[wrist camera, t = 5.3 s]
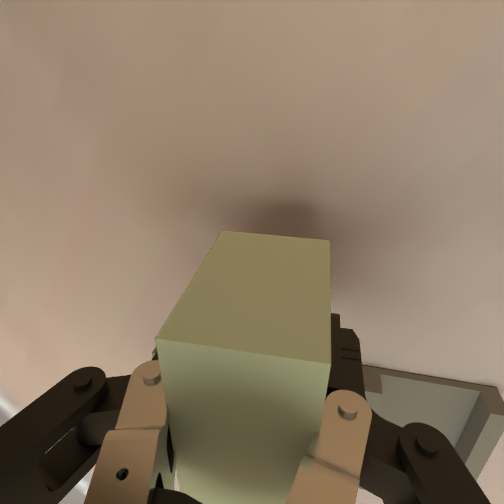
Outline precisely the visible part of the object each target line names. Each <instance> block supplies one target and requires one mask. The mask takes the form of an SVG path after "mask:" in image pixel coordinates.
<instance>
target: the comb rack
mask: <svg viewBox="0 0 504 504" xmlns="http://www.w3.org/2000/svg"><path fill="white" fill-rule="evenodd" d="M156 352H157V346H156V348H155V349H154V351H153V352H152V355H153V357H154V355H155V353H156ZM362 369H363V378H364V388H365V396H366V400H367V402H368V404H369V406H370V407H371V408H372V410H373V411H374V412H375V413H377V414H378V415H379V416H380V417H382V418H383V419H385V420H387V421H389V422H391V423H394V424H396V425H398V426H400V427H402V428H403V427H404V426H405V425H407V424H409V423H412V422H420V423H425V424H428V425H430V426H432V427H434V428H436V429H437V430H439V431H440V432H441V433H442V434H444V435H445V436H446V438H447V439H448V440H449V441H450V443H451V444H452V446H453V447H454V449H455V450H456V452H457V453H458V455H459V456H460V458H461V459H462V461H463V462H464V464H465V465H466V467H467V468H468V470H469V471H470V473H471V475H472V476H473V478H474V479H475V481H476V480H477V478H478V476H479V475H480V473H481V471H482V469H483V467H484V466H485V464H486V462H487V460H488V458H489V457H490V455H491V453H492V451H493V449H494V447H495V446H496V444H497V442H498V440H499V438H500V437H501V435H502V433H503V431H504V401H503V399H502V397H501V395H500V393H499V391H498V389H497V388H496V387H490V386H484V385H478V384H472V383H466V382H460V381H454V380H448V379H442V378H436V377H430V376H424V375H418V374H412V373H406V372H400V371H394V370H388V369H382V368H376V367H370V366H364V365H362ZM358 488H360V489H364V488H362V487H360V486H359V487H358ZM364 490H365V489H364Z"/></svg>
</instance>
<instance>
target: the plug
mask: <svg viewBox="0 0 504 504" xmlns="http://www.w3.org/2000/svg"><path fill="white" fill-rule="evenodd" d="M155 340H156V346H157V352H158V359H159V365H160V371H161V377H162V383H163V390H164V396H165V402H166V405H168V407H169V413H170V419H169V427H170V433H171V439H172V446H173V449H174V450H175V451H176V458H177V461H176V470H177V477H178V483H179V489H180V492H183V493H185V494H187V495H189V496H191V497H192V498H194V499H196V500H197V501H199V502H201V503H203V504H286V502H287V499H288V496H289V493H290V491H291V488H292V485H293V482H294V480H295V477H296V474H297V471H298V468H299V466H300V463H301V460H302V458H303V456H304V454H306V453H307V451H308V449H309V446H310V443H311V440H312V437H313V434H314V432H315V431H316V432H320V428H321V422H322V416H323V410H324V404H325V398H326V392H327V386H328V380H329V374H330V368H331V298H330V240H322V239H311V238H300V237H289V236H279V235H268V234H257V233H246V232H236V231H225V230H223V231H222V232H221V234H220V236H219V237H218V239H217V240H216V242H215V244H214V245H213V247H212V248H211V250H210V252H209V253H208V255H207V256H206V258H205V260H204V261H203V263H202V264H201V266H200V267H199V269H198V271H197V272H196V274H195V275H194V277H193V279H192V280H191V282H190V283H189V285H188V287H187V288H186V290H185V291H184V293H183V295H182V296H181V298H180V299H179V301H178V303H177V304H176V306H175V307H174V309H173V311H172V312H171V314H170V315H169V317H168V319H167V320H166V322H165V323H164V325H163V327H162V328H161V330H160V331H159V333H158V335H157V336H156V338H155Z"/></svg>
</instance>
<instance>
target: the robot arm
mask: <svg viewBox="0 0 504 504" xmlns="http://www.w3.org/2000/svg"><path fill="white" fill-rule="evenodd" d="M169 419H170V413H169V407H168V405H166V402H165V396H164V390H163V383H162V377H161V371H160V365H159V359H158V352H156V353H155V355H154V357H153V358H152V360H151V361H148V362H145V363H143V364H141V365H140V366H138V367H137V368H136V369H135V370H134V371H133V373H132V374H131V375H126V376H118V377H109V378H106V375H105V373H104V371H103V370H102V369H100V368H98V367H84V368H80V369H78V370H76V371H74V372H72V373H71V374H69V375H68V376H66V377H65V378H64V379H62V380H61V381H60V382H59V383H57V384H56V385H55V386H53V387H52V388H51V389H49V390H48V391H47V392H45V393H44V394H43V395H41V396H40V397H39V398H37V399H36V400H35V401H34V402H32V403H31V404H30V405H28V406H27V407H26V408H24V409H23V410H22V411H20V412H19V413H18V414H16V415H15V416H14V417H12V418H11V419H10V420H9V421H7V422H6V423H5V424H3V425H2V426H1V427H0V504H58V503H59V502H60V501H61V500H62V499H63V498H64V497H65V496H66V495H67V494H68V492H70V491H71V489H72V488H73V487H74V486H75V485H76V484H77V483H78V482H79V481H80V480H81V479H82V478H83V477H84V476H85V475H86V474H87V473H88V472H89V471H90V470H91V469H92V467H93V466H94V465H95V464H96V466H95V469H94V472H93V476H92V479H91V482H90V485H89V488H88V491H87V495H86V498H85V501H84V504H203V503H201V502H199V501H197V500H196V499H194V498H192V497H191V496H189V495H187V494H185V493H183V492H178V491H174V478H175V469H176V461H177V458H176V451H175V450H174V449H173V446H172V439H171V433H170V427H169ZM72 428H73V429H72ZM71 429H72V430H71ZM70 430H71V431H70ZM69 431H70V432H69ZM63 436H64V437H63ZM62 437H63V438H62ZM61 438H62V439H61ZM60 439H61V440H60ZM59 440H60V441H59ZM53 445H54V446H53ZM52 446H53V447H52ZM51 447H52V448H51ZM50 448H51V449H50ZM49 449H50V450H49ZM359 486H360V487H362V488H364V489H365V490H367V491H369V492H371V493H373V494H374V495H376V496H378V497H380V498H382V500H383V503H384V504H491V503H490V502H489V500H488V499H487V497H486V496H485V494H484V493H483V491H482V490H481V488H480V487H479V485H478V484H477V482H476V481H475V479H474V478H473V476H472V475H471V473H470V471H469V470H468V468H467V467H466V465H465V464H464V462H463V461H462V459H461V458H460V456H459V455H458V453H457V452H456V450H455V449H454V447H453V446H452V444H451V443H450V441H449V440H448V439H447V438H446V436H445V435H444V434H442V433H441V432H440V431H439V430H437V429H436V428H434V427H432V426H430V425H428V424H425V423H420V422H412V423H409V424H407V425H405V426H404V427H403V428H402V427H400V426H398V425H396V424H394V423H391V422H389V421H387V420H385V419H383V418H382V417H380V416H379V415H378V414H377V413H375V412H374V411H373V410H372V408H371V407H370V406H369V404H368V402H367V400H366V396H365V388H364V378H363V369H362V362H361V353H360V342H359V339H358V337H357V335H356V334H355V332H354V331H353V329H346V328H340V315H339V314H334V313H331V368H330V374H329V380H328V386H327V392H326V398H325V404H324V410H323V416H322V422H321V428H320V432H316V431H315V432H314V434H313V437H312V440H311V443H310V446H309V449H308V451H307V453H306V454H304V456H303V458H302V460H301V463H300V466H299V468H298V471H297V474H296V477H295V480H294V482H293V485H292V488H291V491H290V493H289V496H288V499H287V502H286V504H355V502H356V497H357V492H358V487H359Z"/></svg>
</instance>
